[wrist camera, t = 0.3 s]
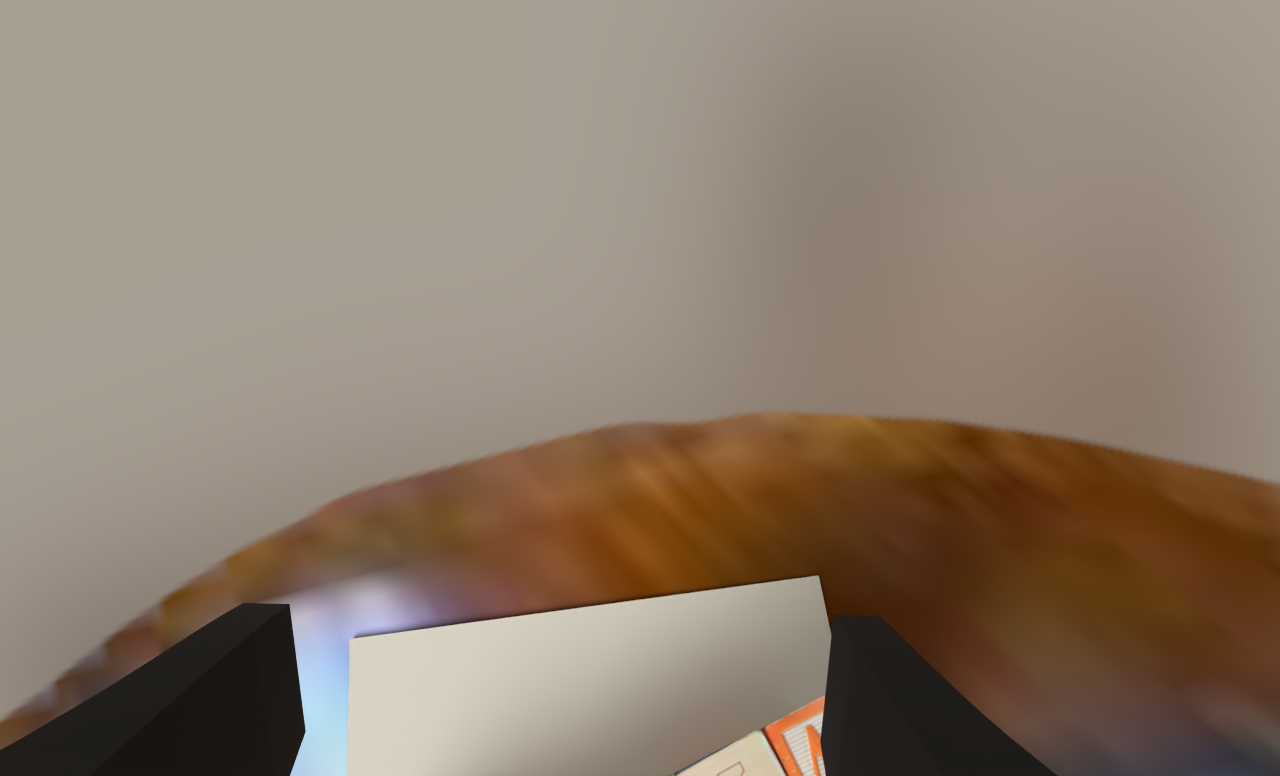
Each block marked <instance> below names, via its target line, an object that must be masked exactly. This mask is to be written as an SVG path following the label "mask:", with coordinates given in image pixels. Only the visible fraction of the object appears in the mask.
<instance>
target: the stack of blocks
mask: <svg viewBox="0 0 1280 776" xmlns="http://www.w3.org/2000/svg"><path fill="white" fill-rule="evenodd" d="M824 701H825V695H823V696H821V697H819V698H817V699H816V700H814V701H812V702H810V703H808V704H806V705H805V706H803V707H801V708H799V709H797V710H795V711H793V712H791V713H789V714H788V715H786V716H784V717H782V718H780V719H778V720H776V721H774V722H772V723H771V724H769V725H767V726H765V727H763V728H761V729H756V730H755V731H753V732H751V733H750V734H748V735H745V736H742V737H740V738H738V739H737V740H735V741H733V742H731V743H729V744H727V745H725V746H723V747H721V748H719V749H717V750H715V751H713V752H711V753H710V754H708V755H706V756H704V757H702V758H700V759H698V760H696V761H694V762H692V763H690V764H688V765H687V766H685V767H683V768H681V769H679V770H678V771H677V772H674V773H671V774H669V775H668V776H826V774H825V768H824V762H823V756H822V750H821V744H820V739H821V730H822V720H823V711H824Z"/></svg>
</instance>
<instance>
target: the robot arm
mask: <svg viewBox="0 0 1280 776" xmlns="http://www.w3.org/2000/svg"><path fill="white" fill-rule="evenodd" d="M304 734H305V724H304V716H303V708H302V700H301V692H300V684H299V676H298V668H297V660H296V653H295V645H294V637H293V629H292V621H291V613H290V605H289V604H257V603H243V604H241V605H239V606H238V607H236V608H234V609H232V610H230V611H228V612H227V613H225V614H223V615H222V616H220V617H218V618H217V619H215V620H213V621H212V622H210V623H209V624H207V625H205V626H204V627H202V628H201V629H199V630H197V631H196V632H194V633H193V634H191V635H190V636H188V637H187V638H185V639H183V640H182V641H180V642H179V643H177V644H176V645H174V646H173V647H171V648H169V649H168V650H166V651H165V652H163V653H162V654H160V655H159V656H157V657H155V658H154V659H152V660H151V661H149V662H147V663H146V664H144V665H143V666H141V667H140V668H138V669H136V670H135V671H133V672H132V673H130V674H129V675H127V676H125V677H124V678H122V679H121V680H119V681H118V682H116V683H114V684H113V685H111V686H110V687H108V688H106V689H105V690H103V691H102V692H100V693H98V694H97V695H95V696H93V697H91V698H90V699H88V700H86V701H85V702H83V703H81V704H80V705H78V706H76V707H74V708H73V709H71V710H69V711H68V712H66V713H64V714H63V715H61V716H59V717H57V718H56V719H54V720H52V721H51V722H49V723H47V724H46V725H44V726H42V727H40V728H39V729H37V730H35V731H34V732H32V733H30V734H29V735H27V736H25V737H23V738H22V739H20V740H18V741H16V742H14V743H13V744H11V745H9V746H7V747H5V748H4V749H2V750H0V776H290V774H291V771H292V768H293V765H294V763H295V760H296V757H297V754H298V751H299V748H300V746H301V743H302V740H303V737H304ZM820 744H821V750H822V756H823V762H824V768H825V774H826V776H1057V775H1056V774H1055V773H1053V772H1052V771H1051V770H1050V769H1048V768H1047V767H1046V766H1045V765H1043V764H1042V763H1041V762H1040V761H1038V760H1037V759H1036V758H1035V757H1033V756H1032V755H1031V754H1030V753H1029V752H1027V751H1026V750H1025V749H1024V748H1022V747H1021V746H1020V745H1019V744H1018V743H1016V742H1015V741H1014V740H1013V739H1011V738H1010V737H1009V736H1008V735H1007V734H1005V733H1004V732H1003V731H1002V730H1001V729H1000V728H998V727H997V726H996V725H995V724H994V723H993V722H991V721H990V720H989V719H988V718H987V717H986V716H985V715H983V714H982V713H981V712H980V711H979V710H978V709H977V708H976V707H975V706H973V705H972V704H971V703H970V702H969V701H968V700H967V699H966V698H965V697H964V696H962V695H961V694H960V693H959V692H958V691H957V690H956V689H955V688H954V687H953V686H952V685H951V684H950V683H949V682H947V681H946V680H945V679H944V678H943V677H942V676H941V675H940V674H939V673H938V672H937V671H936V670H935V669H934V668H933V667H932V666H931V665H930V664H929V663H928V662H927V661H926V660H925V659H923V658H922V657H921V656H920V655H919V654H918V653H917V652H916V651H915V650H914V649H913V648H912V647H911V646H910V645H909V644H908V643H907V642H906V641H905V640H904V639H903V638H902V637H901V636H900V635H899V634H898V633H897V632H896V631H895V630H894V629H893V628H892V627H891V626H890V625H889V624H887V623H886V622H885V621H884V620H883V619H882V618H881V617H878V616H834V617H833V626H832V635H831V645H830V654H829V664H828V673H827V683H826V692H825V701H824V711H823V720H822V730H821V739H820Z"/></svg>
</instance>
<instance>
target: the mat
mask: <svg viewBox="0 0 1280 776" xmlns="http://www.w3.org/2000/svg"><path fill="white" fill-rule="evenodd" d="M830 645H831V631H830V627H829V622H828V617H827V612H826V608H825V603H824V598H823V594H822V589H821V584H820V579H819V576H811V577H804V578H796V579H789V580H782V581H774V582H767V583H759V584H752V585H745V586H737V587H730V588H723V589H715V590H708V591H700V592H693V593H686V594H678V595H671V596H664V597H656V598H649V599H641V600H634V601H627V602H619V603H612V604H604V605H597V606H590V607H582V608H575V609H568V610H560V611H553V612H545V613H538V614H531V615H523V616H516V617H508V618H501V619H494V620H486V621H479V622H472V623H464V624H457V625H449V626H442V627H435V628H427V629H420V630H412V631H405V632H398V633H390V634H383V635H376V636H368V637H361V638H353V639H350V656H349V718H348V776H668V775H669V774H671V773H674V772H677V771H678V770H679V769H681V768H683V767H685V766H687V765H688V764H690V763H692V762H694V761H696V760H698V759H700V758H702V757H704V756H706V755H708V754H710V753H711V752H713V751H715V750H717V749H719V748H721V747H723V746H725V745H727V744H729V743H731V742H733V741H735V740H737V739H738V738H740V737H742V736H745V735H748V734H750V733H751V732H753V731H755V730H756V729H761V728H763V727H765V726H767V725H769V724H771V723H772V722H774V721H776V720H778V719H780V718H782V717H784V716H786V715H788V714H789V713H791V712H793V711H795V710H797V709H799V708H801V707H803V706H805V705H806V704H808V703H810V702H812V701H814V700H816V699H817V698H819V697H821V696H823V695H825V692H826V683H827V673H828V664H829V654H830Z"/></svg>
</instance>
